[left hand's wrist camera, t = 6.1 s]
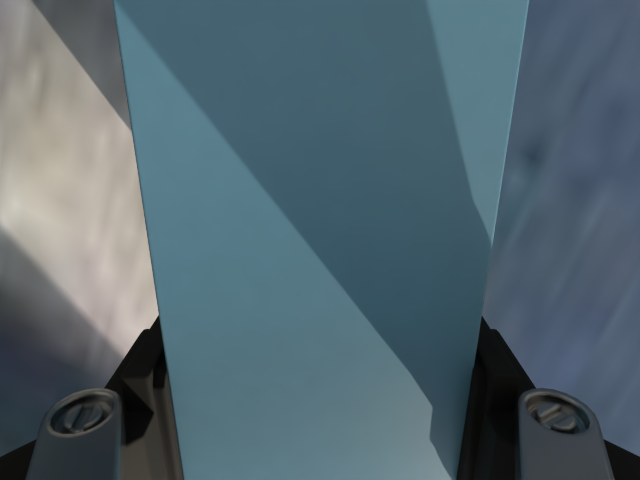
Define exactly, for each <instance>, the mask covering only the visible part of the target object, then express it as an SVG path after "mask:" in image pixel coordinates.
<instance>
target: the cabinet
mask: <svg viewBox="0 0 640 480" xmlns="http://www.w3.org/2000/svg"><path fill="white" fill-rule="evenodd" d="M528 5H529V0H113V6H114V13H115V20H116V27H117V33H118V40H119V47H120V54H121V60H122V67H123V74H124V81H125V87H126V94H127V101H128V108H129V115H130V121H131V128H132V135H133V142H134V148H135V155H136V162H137V169H138V176H139V182H140V189H141V196H142V203H143V209H144V216H145V223H146V230H147V237H148V243H149V250H150V257H151V264H152V270H153V277H154V284H155V291H156V298H157V304H158V311H159V318H160V325H161V331H162V338H163V345H164V352H165V359H166V365H167V372H168V379H169V385H170V392H171V399H172V406H173V413H174V419H175V426H176V433H177V440H178V446H179V453H180V460H181V467H182V474H183V480H456V479H457V472H458V465H459V458H460V452H461V445H462V438H463V432H464V425H465V418H466V411H467V405H468V398H469V391H470V384H471V378H472V371H473V368H474V363H475V357H476V350H477V343H478V337H479V330H480V323H481V317H482V310H483V303H484V297H485V290H486V284H487V277H488V270H489V264H490V257H491V250H492V244H493V237H494V230H495V224H496V217H497V210H498V204H499V197H500V191H501V184H502V177H503V171H504V164H505V157H506V151H507V144H508V137H509V131H510V124H511V117H512V111H513V104H514V98H515V91H516V84H517V78H518V71H519V64H520V58H521V51H522V44H523V38H524V31H525V24H526V18H527V11H528Z"/></svg>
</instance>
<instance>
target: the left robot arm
mask: <svg viewBox="0 0 640 480" xmlns="http://www.w3.org/2000/svg"><path fill="white" fill-rule="evenodd" d="M0 480H183V474H182V467H181V460H180V453H179V446H178V440H177V433H176V426H175V419H174V413H173V406H172V399H171V392H170V385H169V379H168V372H167V365H166V359H165V352H164V345H163V338H162V331H161V325H160V318H159V316H158V317H157V319H156V320H155V322H154V323H153V325H152V326H151V328H150V329H145V330H143V331H142V332H141V334H140V335H139V337H138V338H137V340H136V341H135V343H134V344H133V346H132V347H131V349H130V350H129V352H128V353H127V355H126V356H125V358H124V359H123V361H122V362H121V364H120V365H119V367H118V368H117V370H116V371H115V373H114V374H113V376H112V377H111V379H110V380H109V382H108V383H107V385H106V386H105V388H104V389H102V388H95V389H87V390H83V391H80V392H77V393H74V394H72V395H70V396H67V397H65V398H63V399H62V400H60V401H59V402H57V403H56V404H55V405H53V406H52V407H51V408H50V409H49V410H48V411H47V413H46V414H45V416H44V418H43V420H42V422H41V425H40V429H39V432H38V436H37V439H36V440H34V441H32V442H30V443H28V444H26V445H24V446H22V447H20V448H18V449H16V450H14V451H12V452H10V453H7V454H5V455H3V456H1V457H0ZM456 480H640V457H639V456H637V455H635V454H633V453H631V452H629V451H627V450H625V449H623V448H620V447H618V446H616V445H614V444H612V443H610V442H608V441H606V440H604V439H603V436H602V432H601V429H600V425H599V422H598V420H597V418H596V416H595V414H594V413H593V411H592V410H591V409H590V408H589V407H588V406H587V405H585V404H584V403H583V402H581V401H580V400H578V399H577V398H575V397H573V396H570V395H568V394H566V393H563V392H560V391H557V390H553V389H545V388H538V389H536V387H535V386H534V384H533V383H532V381H531V380H530V378H529V377H528V375H527V374H526V372H525V371H524V369H523V368H522V366H521V365H520V363H519V362H518V360H517V359H516V357H515V356H514V354H513V353H512V351H511V350H510V348H509V347H508V345H507V344H506V342H505V341H504V339H503V338H502V336H501V335H500V333H499V332H498V331H497V330H495V329H490V328H489V326H488V324H487V323H486V321H485V320H484V318H483V317H481V323H480V330H479V337H478V343H477V350H476V357H475V363H474V368H473V371H472V378H471V384H470V391H469V398H468V405H467V411H466V418H465V425H464V432H463V438H462V445H461V452H460V458H459V465H458V472H457V479H456Z"/></svg>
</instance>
